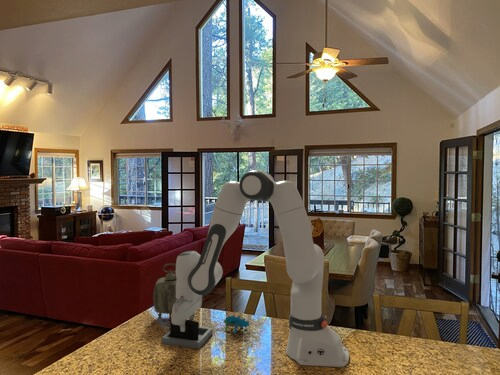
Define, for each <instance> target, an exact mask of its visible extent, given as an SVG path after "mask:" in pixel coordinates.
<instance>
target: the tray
mask: <svg viewBox="0 0 500 375" xmlns="http://www.w3.org/2000/svg"><path fill="white" fill-rule="evenodd" d="M213 332H214V331H213V328H212V327H207V326H199V334H198V340H197V341H194V340H187V339H180V338H172V337H170V330H169V331H168V332H166V334H164V335H163V336H162V337H161V344H162V345H166V346H173V347H180V348H187V349H192V350H193V349H194V350H200V349H201V348H202V347H203V346H204V345H205V343H206V342H208V340H209V339H210V338H211V336H213Z"/></svg>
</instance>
